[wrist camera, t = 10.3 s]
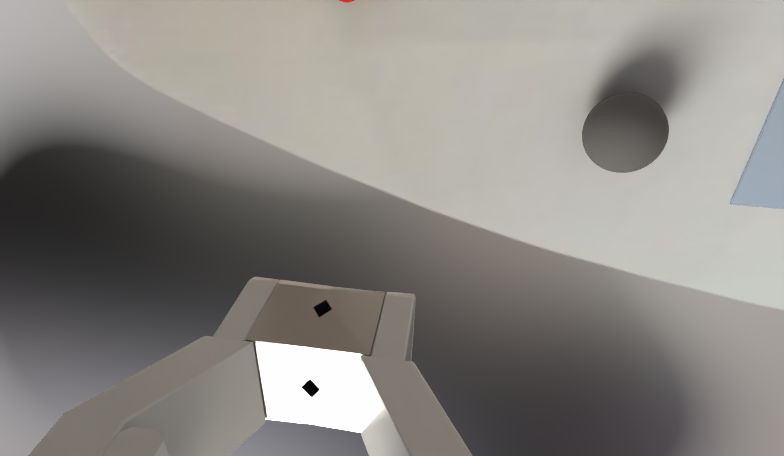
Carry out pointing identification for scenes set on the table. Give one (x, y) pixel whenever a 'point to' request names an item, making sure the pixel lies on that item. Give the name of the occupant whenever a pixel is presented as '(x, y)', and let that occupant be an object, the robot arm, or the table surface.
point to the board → (765, 163)
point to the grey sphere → (625, 132)
